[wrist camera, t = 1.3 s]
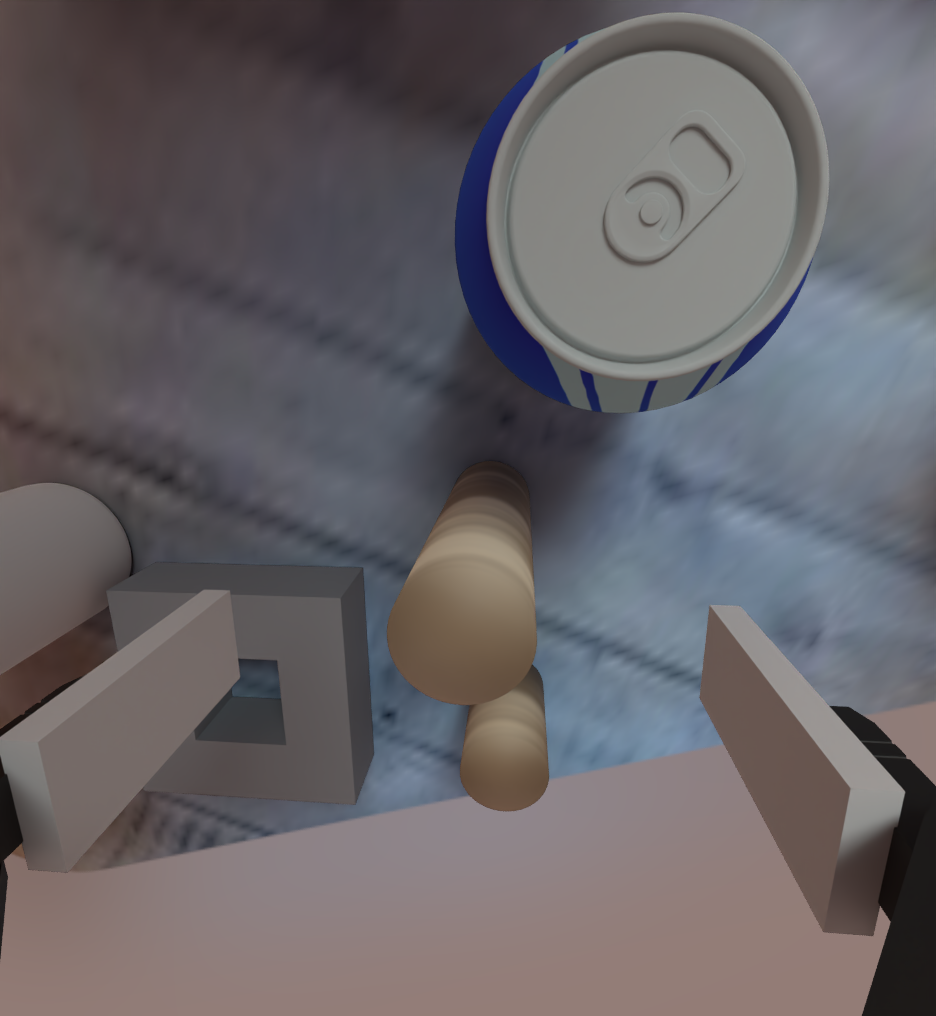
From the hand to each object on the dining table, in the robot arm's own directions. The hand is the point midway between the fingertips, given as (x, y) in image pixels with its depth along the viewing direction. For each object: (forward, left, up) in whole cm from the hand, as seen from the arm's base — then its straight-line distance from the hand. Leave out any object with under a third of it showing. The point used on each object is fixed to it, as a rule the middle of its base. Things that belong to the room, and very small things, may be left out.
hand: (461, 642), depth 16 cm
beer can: (-10, +4, -15) cm, 19 cm away
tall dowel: (0, 0, -15) cm, 15 cm away
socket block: (+10, -13, -15) cm, 22 cm away
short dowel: (+11, +1, -15) cm, 18 cm away
